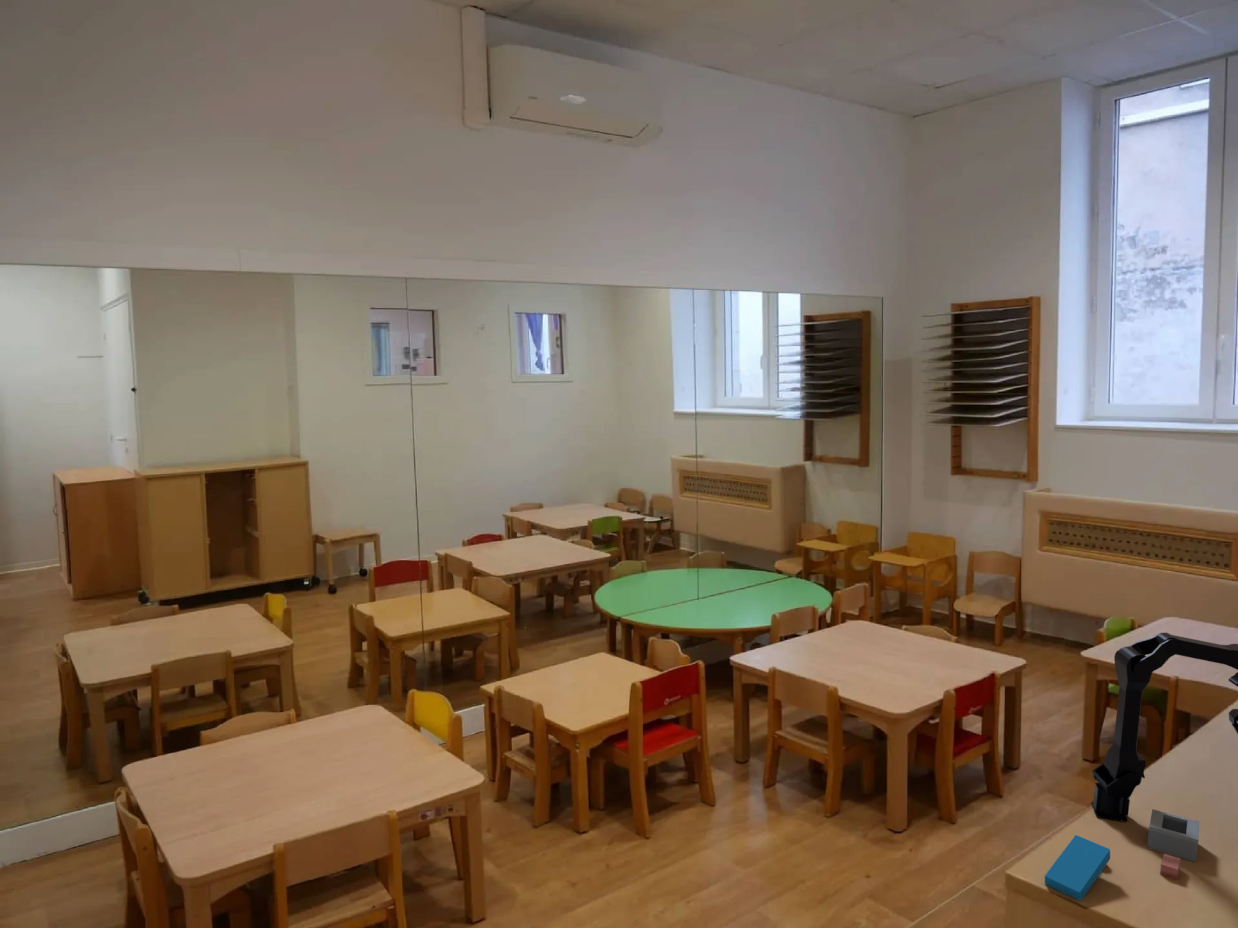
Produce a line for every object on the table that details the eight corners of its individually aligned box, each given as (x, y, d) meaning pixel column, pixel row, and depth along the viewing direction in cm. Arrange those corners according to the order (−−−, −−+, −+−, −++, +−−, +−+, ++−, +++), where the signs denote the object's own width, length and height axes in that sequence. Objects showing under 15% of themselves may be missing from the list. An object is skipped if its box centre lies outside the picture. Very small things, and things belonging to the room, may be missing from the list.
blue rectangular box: (1080, 919, 176) (1118, 865, 186) (1079, 892, 174) (1117, 838, 184) (1045, 902, 181) (1083, 850, 191) (1044, 875, 179) (1083, 824, 189)
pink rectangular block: (1176, 880, 182) (1178, 869, 182) (1159, 875, 184) (1161, 863, 184) (1179, 869, 186) (1180, 858, 186) (1162, 864, 188) (1164, 853, 187)
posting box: (1195, 861, 189) (1198, 839, 188) (1147, 847, 194) (1149, 826, 193) (1197, 842, 196) (1199, 821, 195) (1149, 829, 201) (1152, 808, 200)
